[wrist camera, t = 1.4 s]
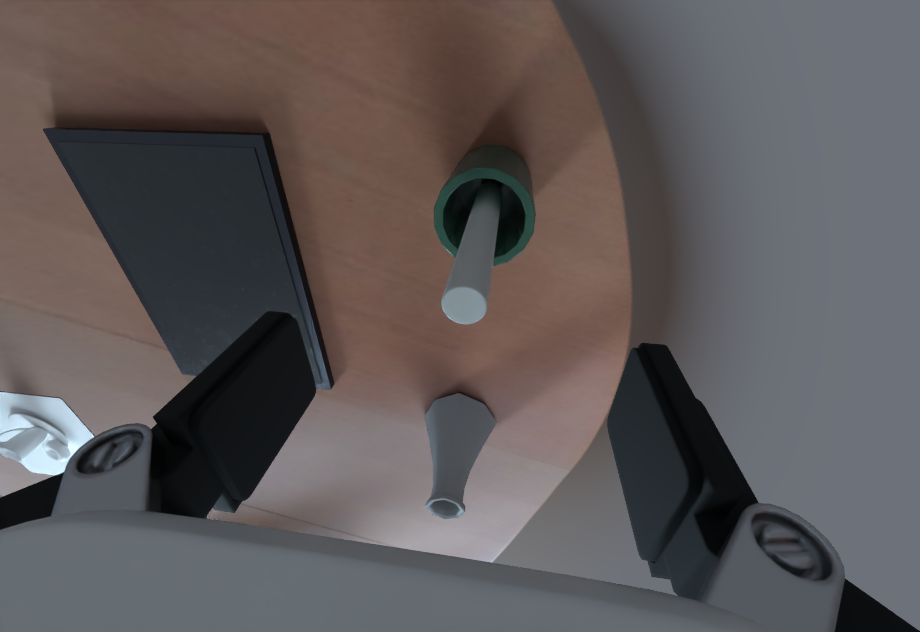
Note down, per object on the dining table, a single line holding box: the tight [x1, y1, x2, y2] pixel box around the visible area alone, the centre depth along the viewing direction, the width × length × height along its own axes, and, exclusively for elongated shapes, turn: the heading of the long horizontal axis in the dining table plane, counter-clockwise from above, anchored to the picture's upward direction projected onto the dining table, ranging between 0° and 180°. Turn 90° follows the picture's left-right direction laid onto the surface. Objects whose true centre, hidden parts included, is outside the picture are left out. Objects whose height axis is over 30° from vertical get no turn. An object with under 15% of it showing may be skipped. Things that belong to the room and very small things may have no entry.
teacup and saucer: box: [0, 412, 72, 463], centre depth 51 cm, size 9×8×4 cm
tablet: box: [43, 127, 334, 390], centre depth 32 cm, size 24×17×1 cm
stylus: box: [441, 181, 502, 324], centre depth 19 cm, size 2×2×15 cm
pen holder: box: [434, 144, 536, 266], centre depth 22 cm, size 5×5×7 cm
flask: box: [425, 393, 496, 519], centre depth 35 cm, size 7×7×10 cm
